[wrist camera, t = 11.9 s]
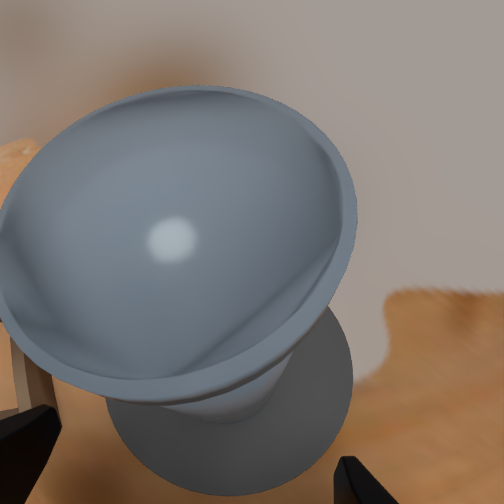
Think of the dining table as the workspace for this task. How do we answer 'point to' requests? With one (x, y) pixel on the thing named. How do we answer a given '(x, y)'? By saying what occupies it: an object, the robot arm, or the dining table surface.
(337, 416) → the rubber mat
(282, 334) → the jug
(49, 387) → the jug holder
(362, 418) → the dining table surface
